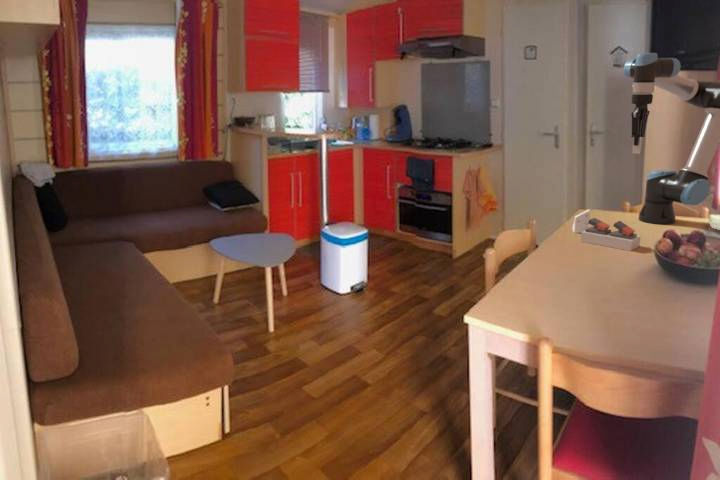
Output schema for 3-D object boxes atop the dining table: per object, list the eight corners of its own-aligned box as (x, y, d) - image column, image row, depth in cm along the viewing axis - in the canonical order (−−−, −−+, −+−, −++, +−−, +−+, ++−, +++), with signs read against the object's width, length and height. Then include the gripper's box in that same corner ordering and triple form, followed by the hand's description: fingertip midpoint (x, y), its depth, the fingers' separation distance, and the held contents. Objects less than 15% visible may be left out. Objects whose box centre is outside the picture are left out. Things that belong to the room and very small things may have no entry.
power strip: (590, 237, 252) (591, 225, 251) (639, 245, 239) (640, 233, 237) (580, 241, 246) (581, 229, 245) (630, 250, 233) (631, 238, 231)
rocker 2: (616, 225, 241) (619, 220, 240) (631, 235, 238) (635, 230, 237) (611, 227, 238) (614, 222, 237) (627, 238, 235) (630, 233, 233)
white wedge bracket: (599, 227, 258) (590, 210, 256) (577, 238, 260) (568, 221, 258) (596, 225, 261) (587, 208, 260) (575, 236, 263) (566, 219, 262)
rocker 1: (592, 222, 248) (594, 217, 247) (607, 230, 244) (610, 225, 243) (587, 224, 245) (589, 219, 244) (602, 232, 241) (605, 227, 240)
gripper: (639, 92, 246) (632, 150, 253) (626, 94, 237) (620, 154, 244) (658, 93, 241) (651, 152, 247) (646, 94, 232) (639, 155, 239)
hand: (636, 153), depth 246 cm, fingers closed
